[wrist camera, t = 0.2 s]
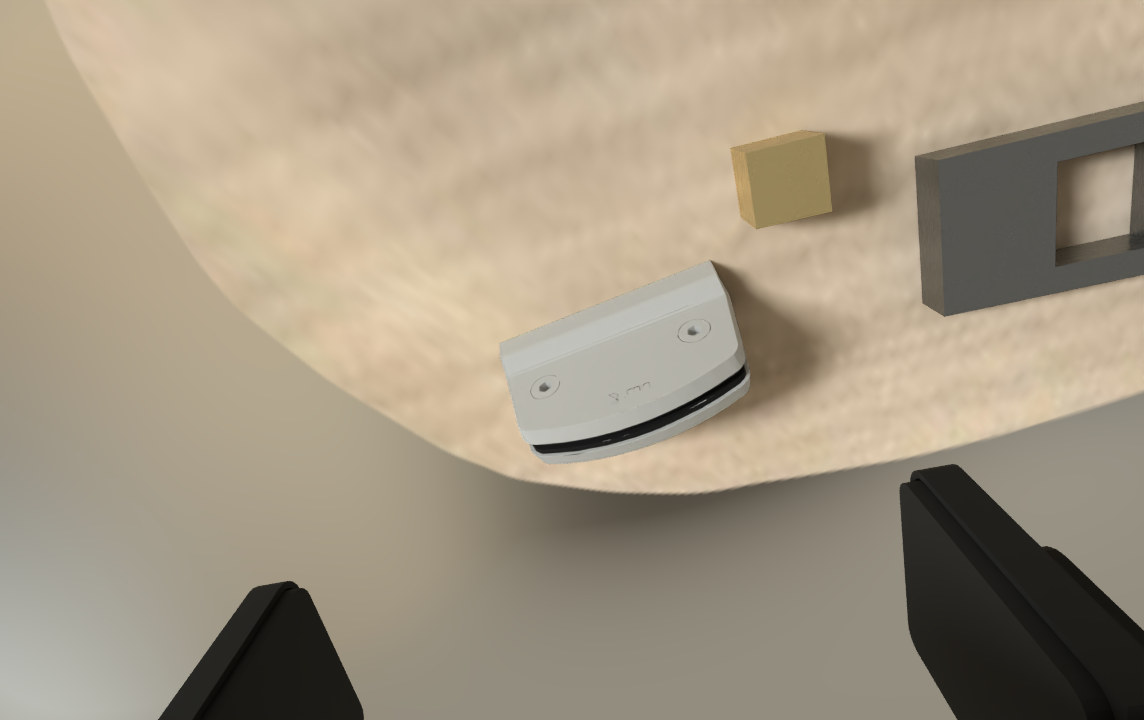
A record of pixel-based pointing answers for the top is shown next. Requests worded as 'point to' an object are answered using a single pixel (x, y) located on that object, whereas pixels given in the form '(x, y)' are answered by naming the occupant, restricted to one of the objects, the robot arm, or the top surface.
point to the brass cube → (782, 178)
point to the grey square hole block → (1019, 215)
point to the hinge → (628, 369)
